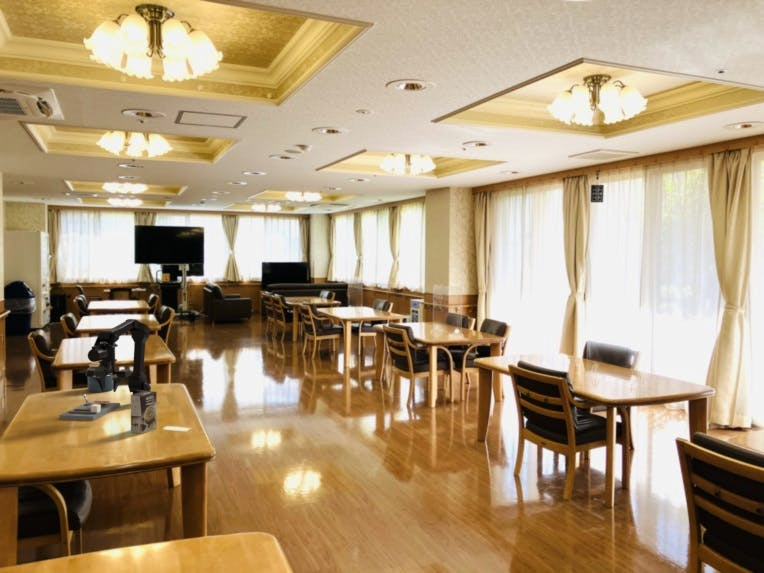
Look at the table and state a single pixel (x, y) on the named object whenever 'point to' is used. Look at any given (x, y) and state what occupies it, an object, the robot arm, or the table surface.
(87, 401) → the toggle
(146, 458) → the table surface
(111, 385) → the canister
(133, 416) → the coffee box
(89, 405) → the switch panel
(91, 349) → the robot arm
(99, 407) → the slider
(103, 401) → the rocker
